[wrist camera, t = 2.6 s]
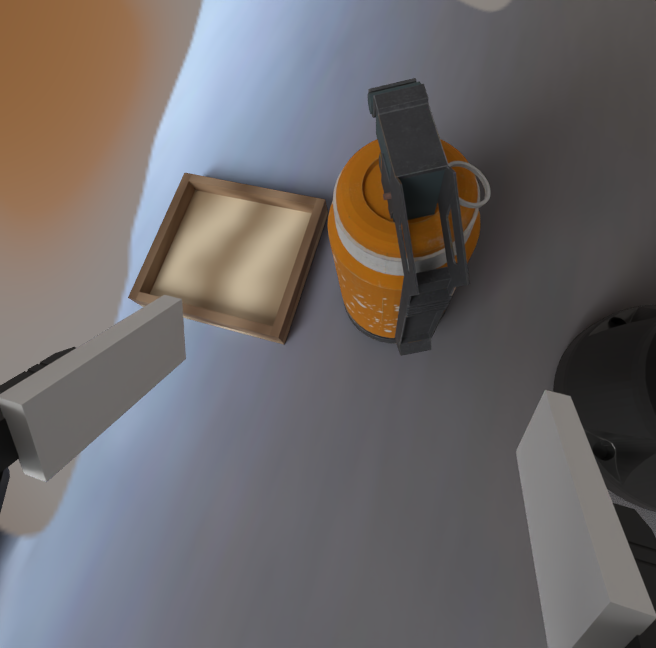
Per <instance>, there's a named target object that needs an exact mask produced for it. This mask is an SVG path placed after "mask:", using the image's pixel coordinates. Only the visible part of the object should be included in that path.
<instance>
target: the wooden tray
mask: <svg viewBox="0 0 656 648" xmlns="http://www.w3.org/2000/svg"><path fill="white" fill-rule="evenodd" d="M327 215H328V210H327V206H326V201H325V199H320V198H315V197H309V196H304V195H299V194H294V193H288V192H283V191H278V190H273V189H268V188H262V187H257V186H252V185H247V184H241V183H236V182H231V181H226V180H220V179H215V178H210V177H205V176H200V175H194V174H189V173H184V175H183V177H182V180H181V182H180V184H179V186H178V188H177V191H176V193H175V195H174V197H173V200H172V202H171V204H170V206H169V208H168V211H167V213H166V215H165V217H164V219H163V222H162V224H161V226H160V228H159V230H158V233H157V235H156V237H155V239H154V242H153V244H152V246H151V248H150V250H149V253H148V255H147V257H146V259H145V261H144V264H143V266H142V268H141V270H140V272H139V275H138V277H137V279H136V281H135V284H134V286H133V288H132V290H131V292H130V295H129V297H128V298H129V299H131V300H133V301H134V302H136V303H137V304H139V305H141V306H143V307H145V306H147V305H148V304H150V303H151V302H153V301H155V300H156V299H158V298H160V297H161V296H163V295H168V296H172V297H176V298H180V299H182V307H183V317H184V318H187V319H191V320H195V321H198V322H202V323H206V324H210V325H213V326H217V327H221V328H225V329H228V330H232V331H236V332H239V333H243V334H247V335H251V336H254V337H258V338H262V339H265V340H269V341H273V342H277V343H280V344H285V341H286V338H287V335H288V332H289V329H290V326H291V323H292V320H293V317H294V314H295V311H296V308H297V305H298V302H299V299H300V296H301V293H302V290H303V287H304V284H305V281H306V278H307V275H308V272H309V269H310V266H311V263H312V260H313V257H314V254H315V251H316V248H317V245H318V242H319V239H320V236H321V233H322V230H323V227H324V224H325V221H326V218H327Z"/></svg>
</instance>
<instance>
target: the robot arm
mask: <svg viewBox="0 0 656 648" xmlns="http://www.w3.org/2000/svg"><path fill="white" fill-rule="evenodd" d="M185 359H186V354H185V338H184V323H183V307H182V299H180V298H176V297H172V296H168V295H163V296H161V297H160V298H158V299H156V300H155V301H153V302H151V303H150V304H148V305H147V306H145V307H143V308H142V309H140V310H138V311H137V312H135V313H133V314H132V315H130V316H128V317H127V318H125V319H123V320H122V321H120V322H118V323H117V324H115V325H114V326H112V327H110V328H109V329H107V330H105V331H104V332H102V333H100V334H99V335H97V336H96V337H94V338H92V339H91V340H89V341H87V342H86V343H84V344H82V345H80V346H79V347H77V348H75V347H72V348H70V349H66V350H63V351H61V352H58V353H55V354H53V355H52V356H50V357H48V358H46V359H45V360H43V361H42V362H40V364H36V365H35V366H33V367H31V368H29V369H28V371H27V372H25V371H24V372H23V373H21V374H19V375H17V376H16V377H14V378H12V379H11V380H9V381H7V382H6V383H4V384H2V385H0V512H1V508H2V504H3V501H4V497H5V493H6V489H7V485H8V482H9V477H10V474H9V469H8V466H10V465H11V464H12V463H14V462H15V461H16V460H17V459H19V461H20V464H21V467H22V470H23V473H24V474H26V475H29V476H31V477H34V478H37V479H39V480H42V481H44V482H47V481H49V479H51V478H52V477H53V476H54V475H55V474H56V473H58V472H59V471H60V470H61V469H62V468H63V467H64V466H65V465H67V464H68V463H69V462H70V461H71V460H72V459H73V458H75V457H76V456H77V455H78V454H79V453H80V452H81V451H82V450H84V449H85V448H86V447H87V446H88V445H89V444H90V443H91V442H93V441H94V440H95V439H96V438H97V437H98V436H99V435H100V434H102V433H103V432H104V431H105V430H106V429H107V428H108V427H109V426H111V425H112V424H113V423H114V422H115V421H116V420H117V419H119V418H120V417H121V416H122V415H123V414H124V413H125V412H126V411H128V410H129V409H130V408H131V407H132V406H133V405H134V404H135V403H137V402H138V401H139V400H140V399H141V398H142V397H143V396H144V395H146V394H147V393H148V392H149V391H150V390H151V389H152V388H153V387H155V386H156V385H157V384H158V383H159V382H160V381H161V380H163V379H164V378H165V377H166V376H167V375H168V374H169V373H170V372H172V371H173V370H174V369H175V368H176V367H177V366H178V365H179V364H181V363H182V362H183V361H184V360H185ZM516 455H517V461H518V467H519V474H520V480H521V486H522V492H523V498H524V504H525V510H526V516H527V522H528V528H529V534H530V540H531V546H532V552H533V559H534V565H535V571H536V577H537V583H538V589H539V595H540V601H541V607H542V613H543V619H544V625H545V631H546V637H547V644H548V648H656V538H655V536H654V533H653V531H652V530H651V528H650V527H649V526H648V525H647V524H646V522H645V521H644V520H643V519H642V518H641V516H640V515H639V514H638V513H637V512H636V511H635V509H632V508H628V507H625V506H621V505H618V504H614V503H612V501H611V498H610V496H609V493H608V490H610V491H611V492H613V493H614V494H616V495H617V496H619V497H621V498H623V499H624V500H626V501H628V502H630V503H632V504H635V505H637V506H639V507H642V508H645V509H648V510H651V511H654V512H656V305H645V306H638V307H633V308H629V309H626V310H622V311H619V312H617V313H614V314H612V315H610V316H608V317H606V318H604V319H602V320H601V321H599V322H597V323H595V324H594V325H592V326H590V327H589V328H587V329H586V330H584V331H583V332H582V333H581V334H579V335H578V336H577V337H576V338H575V339H574V340H573V341H572V343H571V344H570V345H569V346H568V348H567V349H566V351H565V352H564V354H563V356H562V358H561V360H560V362H559V365H558V368H557V371H556V375H555V380H554V392H552V391H548V390H545V391H544V393H543V395H542V397H541V399H540V401H539V404H538V406H537V408H536V410H535V412H534V414H533V416H532V418H531V421H530V423H529V425H528V427H527V429H526V431H525V433H524V435H523V438H522V440H521V442H520V444H519V446H518V448H517V450H516ZM607 489H608V490H607Z"/></svg>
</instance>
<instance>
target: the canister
mask: <svg viewBox="0 0 656 648" xmlns="http://www.w3.org/2000/svg"><path fill="white" fill-rule="evenodd" d="M368 105H369V110H370V114H372V117H373V118H374V117H376V135H377V140H375V141H372V142H371V143H369V144H367V145H366V146H364V147H362V148H361V149H360V150H359V151H358V152H356V153H355V154H354V155H353V156H352V158H351V159H350V160H349V161H348V162H347V164H346V165H345V167H344V168H343V170H342V171H341V173H340V174H339V177H338V179H337V181H336V184H335V188H334V192H333V202H332V204H331V207H330V211H329V215H328V235H329V240H330V244H331V249H332V253H333V257H334V262H335V266H336V270H337V275H338V279H339V284H340V288H341V292H342V297H343V301H344V305H345V309H346V312H347V314H348V316H349V318H350V320H351V321H352V323H353V324H354V325H355V326H356V327H357V328H358V329H359V330H360V331H361V332H362V333H364V334H365V335H367V336H368V337H370V338H372V339H375V340H377V341H380V342H385V343H395V344H397V346H398V349H399V352H400V355H401V356H402V355H407V354H412V353H417V352H422V351H427V350H432V346H431V338H432V336H433V334H434V332H435V329H436V327H437V325H438V323H439V321H440V319H441V318H442V316H443V314H444V312H445V310H446V308H447V306H448V304H449V302H450V300H451V298H452V295H453V293H454V291H455V289H456V287H457V286H463V285H469V284H470V283H469V275H468V267H467V263H468V261H469V259H470V257H471V255H472V253H473V251H474V249H475V247H476V244H477V241H478V238H479V233H480V225H481V224H480V212H479V207H481V206H483V205H484V204H485V203H486V202H487V201H488V200H489V198H490V193H491V191H490V186H489V183H488V181H487V179H486V178H485V176H484V175H483V174H482V173H481V171H479V170H478V169H477V168H476V167H474V166H473V165H471V164H469V163H468V161H467V160H466V158H465V157H464V156H463V155H462V154H461V153H460V152H459V151H458V150H457V149H455V148H454V147H453V146H451V145H450V144H448V143H447V142H445V141H443V140H441V139H440V137H439V134H438V131H437V128H436V125H435V122H434V119H433V116H432V112H431V109H430V106H429V103H428V96H427V93H426V89H425V86H424V84H421V83H420V82H416V78H414V79H409V80H405V81H401V82H397V83H392V84H388V85H384V86H380V87H375V88H371V89H369V93H368ZM475 175H476V176H477V177H478V178H479V179H480V181H481V182H482V184H483V186H484V190H485V197H484V199H483V201H482V202H480V189H479V185H478V181H477V178H476V176H475Z"/></svg>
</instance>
